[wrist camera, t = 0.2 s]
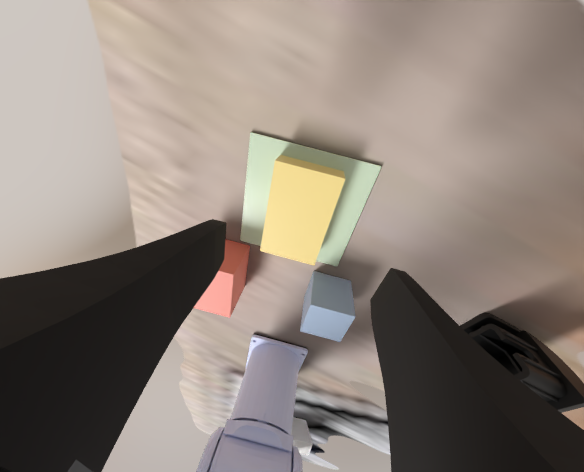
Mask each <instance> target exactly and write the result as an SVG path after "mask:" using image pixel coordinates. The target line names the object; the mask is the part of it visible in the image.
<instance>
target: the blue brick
mask: <svg viewBox="0 0 584 472" xmlns="http://www.w3.org/2000/svg"><path fill="white" fill-rule="evenodd" d="M354 319H355V308H354V300H353V292H352V284H351V281H350V280H346V279H342V278H339V277H335V276H331V275H328V274H324V273H320V272H316V271H314V272H313V274H312V277H311V280H310V283H309V285H308V288H307V291H306V293H305V296H304V304H303V312H302V319H301V327H300V331H301V332H305V333H309V334H312V335H316V336H320V337H323V338H327V339H331V340H334V341H338V342H340V341H341V340H342V338H343V336H344V335H345V333H346V332H347V330H348V328H349V327H350V325H351V323H352V322H353V320H354Z"/></svg>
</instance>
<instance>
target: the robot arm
mask: <svg viewBox="0 0 584 472" xmlns="http://www.w3.org/2000/svg"><path fill="white" fill-rule="evenodd" d="M225 238H226V223H225V222H221V221H217V220H214V219H212V220H209V221H206V222H203V223H201V224H198V225H196V226H193V227H191V228H188V229H186V230H183V231H181V232H178V233H176V234H173V235H170V236H168V237H165V238H162V239H160V240H157V241H154V242H151V243H148V244H145V245H142V246H139V247H137V248H133V249H130V250H127V251H124V252H120V253H117V254H113V255H109V256H106V257H102V258H98V259H94V260H91V261H86V262H82V263H77V264H72V265H68V266H64V267H59V268H54V269H50V270H46V271H40V272H35V273H30V274H24V275H18V276H13V277H7V278H1V279H0V472H101V471H102V469H103V467H104V465H105V463H106V461H107V459H108V457H109V455H110V453H111V451H112V449H113V447H114V445H115V443H116V441H117V439H118V437H119V436H120V434H121V431H122V430H123V428H124V425H125V423H126V422H127V420H128V418H129V416H130V414H131V412H132V410H133V409H134V407H135V405H136V403H137V401H138V399H139V397H140V395H141V394H142V392H143V389H144V388H145V386H146V384H147V382H148V381H149V379H150V377H151V375H152V374H153V372H154V370H155V368H156V366H157V365H158V363H159V361H160V359H161V357H162V356H163V354H164V352H165V351H166V349H167V347H168V345H169V344H170V342H171V340H172V339H173V337H174V335H175V334H176V332H177V330H178V329H179V327H180V326H181V324H182V323H183V321H184V320H185V319H186V317H187V316H188V315H189V313H190V312H191V310H192V309H193V308H194V306H195V305H196V303H197V302H198V301H199V299H200V298H201V296H202V295H203V294H204V292H205V291H206V289H207V288H208V287H209V285H210V284H211V282H212V281H213V280H214V278H215V276H216V274H217V272H218V271H219V269H220V267H221V265H222V263H223V261H224V255H225ZM371 319H372V326H373V332H374V337H375V342H376V347H377V352H378V357H379V362H380V367H381V372H382V377H383V383H384V389H385V396H386V405H387V406H386V407H387V416H388V427H389V440H390V453H391V471H392V472H584V430H583V429H581V428H580V427H579V426H577V425H576V424H575V423H573V422H572V421H571V420H569V419H568V418H567V417H565V416H564V415H563V414H562V413H560V412H559V411H558V410H557V409H555V408H554V407H553V406H551V405H550V404H549V403H548V402H546V401H545V400H544V399H543V398H541V397H540V396H539V395H537V394H536V393H535V392H534V391H532V390H531V389H530V388H529V387H527V386H526V385H525V384H524V383H523V382H521V381H520V380H519V379H518V378H516V377H515V376H514V375H513V374H512V373H511V372H510V371H508V370H507V369H506V368H505V367H504V366H503V365H501V364H500V363H499V362H498V361H497V360H496V359H494V358H493V357H492V356H491V355H490V354H489V353H488V352H486V351H485V350H484V349H483V348H482V347H481V346H480V345H479V344H478V343H477V342H476V341H475V340H474V339H472V338H471V337H470V336H469V335H468V334H467V333H466V332H465V331H464V330H463V329H462V328H461V327H460V326H459V325H458V324H457V323H456V322H455V321H454V320H453V319H452V318H451V317H450V316H449V315H448V314H447V313H446V312H445V311H444V310H443V309H442V308H441V307H440V306H439V305H438V304H437V303H436V302H435V301H434V300H433V299H432V298H431V297H430V296H429V295H428V294H427V293H426V292H425V291H424V289H423V288H422V287H421V286H420V285H419V284H418V283H417V282H416V281H415V280H414V279H413V278H411V277H410V276H409V275H408V274H407V273H406V272H404V271H400V270H397V269H393V268H391V269H390V270H389V272H388V273H387V275H386V276H385V278H384V280H383V281H382V283H381V284H380V286H379V287H378V289H377V291H376V292H375V294H374V295H373V297H372V298H371ZM307 353H308V350H307V349H306V348H302V347H299V346H295V345H291V344H288V343H284V342H281V341H277V340H273V339H270V338H266V337H262V336H259V335H252V338H251V343H250V348H249V353H248V358H247V364H246V371H245V374H244V377H243V380H242V383H241V386H240V390H239V393H238V396H237V399H236V402H235V405H234V408H233V412H232V415H231V418H230V419H227V422H226V425H225V428H223V427H219V428H218V429H217V430H216V431H215V432H213V433H212V435H211V436H210V438H209V440H208V442H207V445H206V447H205V449H204V452H203V455H202V457H201V460H200V462H199V465H198V468H197V471H196V472H302V458H301V455H300V453H299V450H298V448H297V447H294V446H293V439H294V437H293V436H292V435H291V431H292V422H293V414H294V405H295V397H296V388H297V380H298V372H299V370H300V368H301V366H302V364H303V362H304V360H305V358H306V356H307Z"/></svg>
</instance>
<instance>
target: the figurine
mask: <svg viewBox="0 0 584 472" xmlns="http://www.w3.org/2000/svg"><path fill="white" fill-rule="evenodd" d="M291 435H292V436H293V437H294V439H293V446H294V447H297V448H298V450H299V453H300V454H304V455H308V456H309V453H310V450H311V447H312V444H313V443H312V440H311V436H310V433H309V429H308V426H307V422H306V420H303V419H299V418H294V417H293V422H292V431H291Z"/></svg>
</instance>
